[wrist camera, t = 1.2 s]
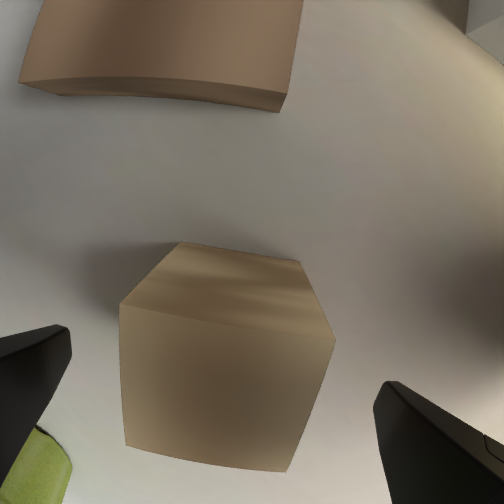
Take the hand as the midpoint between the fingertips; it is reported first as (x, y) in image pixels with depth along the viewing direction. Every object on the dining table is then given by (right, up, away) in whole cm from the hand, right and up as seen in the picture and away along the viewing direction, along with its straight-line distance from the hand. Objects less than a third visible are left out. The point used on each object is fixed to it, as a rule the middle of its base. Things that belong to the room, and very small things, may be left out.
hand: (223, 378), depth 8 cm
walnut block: (-2, +13, +2) cm, 14 cm away
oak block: (0, +1, +5) cm, 5 cm away
